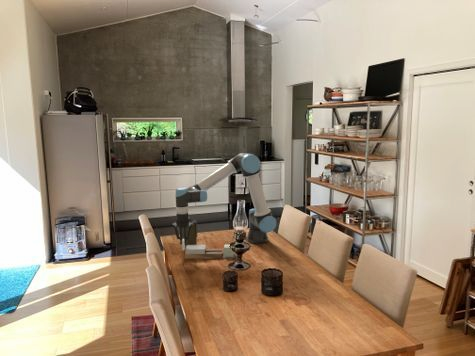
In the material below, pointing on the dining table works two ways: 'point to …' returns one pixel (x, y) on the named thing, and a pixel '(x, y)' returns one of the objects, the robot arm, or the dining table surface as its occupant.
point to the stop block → (228, 251)
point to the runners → (206, 254)
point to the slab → (195, 249)
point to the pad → (229, 257)
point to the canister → (191, 233)
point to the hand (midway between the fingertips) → (183, 249)
